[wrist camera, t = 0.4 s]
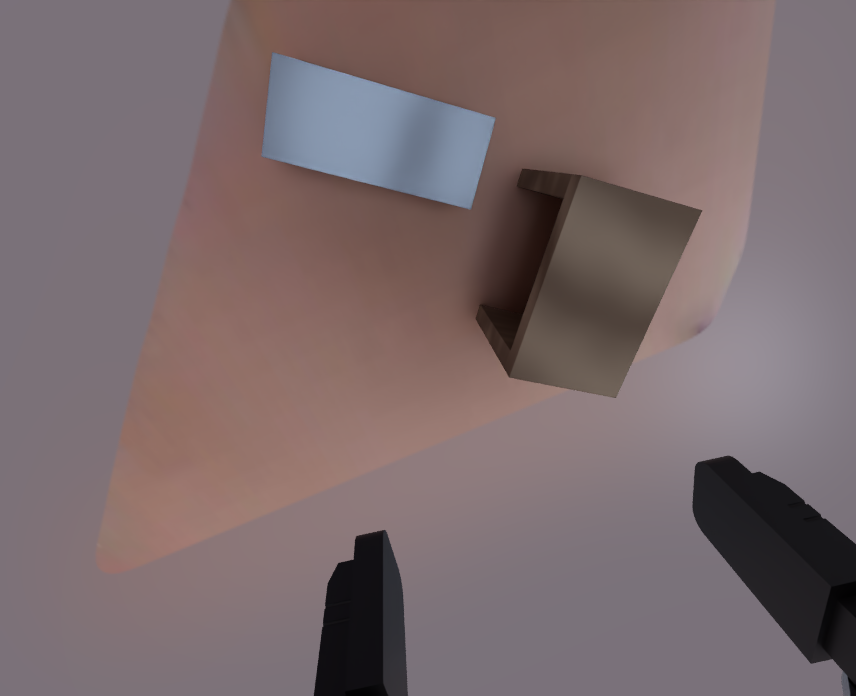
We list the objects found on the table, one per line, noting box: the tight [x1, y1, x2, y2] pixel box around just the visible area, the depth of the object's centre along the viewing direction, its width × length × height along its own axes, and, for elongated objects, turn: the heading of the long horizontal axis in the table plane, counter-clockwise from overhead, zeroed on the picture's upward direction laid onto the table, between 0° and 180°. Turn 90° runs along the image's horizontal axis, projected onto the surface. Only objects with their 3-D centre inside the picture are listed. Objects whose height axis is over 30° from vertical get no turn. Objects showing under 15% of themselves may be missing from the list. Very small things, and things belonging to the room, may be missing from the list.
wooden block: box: [476, 169, 702, 398], centre depth 30 cm, size 11×7×10 cm, turn 166°
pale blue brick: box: [262, 52, 496, 209], centre depth 28 cm, size 5×12×6 cm, turn 76°
